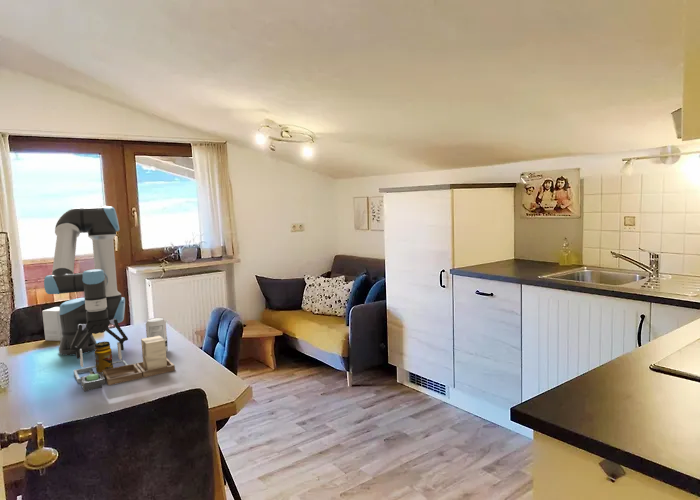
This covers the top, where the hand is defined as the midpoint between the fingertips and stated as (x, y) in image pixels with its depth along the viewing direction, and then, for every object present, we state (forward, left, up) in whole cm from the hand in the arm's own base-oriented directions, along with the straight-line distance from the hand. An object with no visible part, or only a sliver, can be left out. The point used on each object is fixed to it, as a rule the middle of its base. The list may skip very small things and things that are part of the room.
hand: (101, 362), depth 199 cm
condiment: (0, 0, -5) cm, 5 cm away
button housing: (+13, -5, -4) cm, 14 cm away
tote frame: (0, 0, -4) cm, 4 cm away
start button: (+13, -5, -2) cm, 14 cm away
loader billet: (+13, +17, -3) cm, 22 cm away
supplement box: (-69, -9, -5) cm, 69 cm away
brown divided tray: (+13, +11, -4) cm, 17 cm away
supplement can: (-12, +24, -5) cm, 27 cm away
